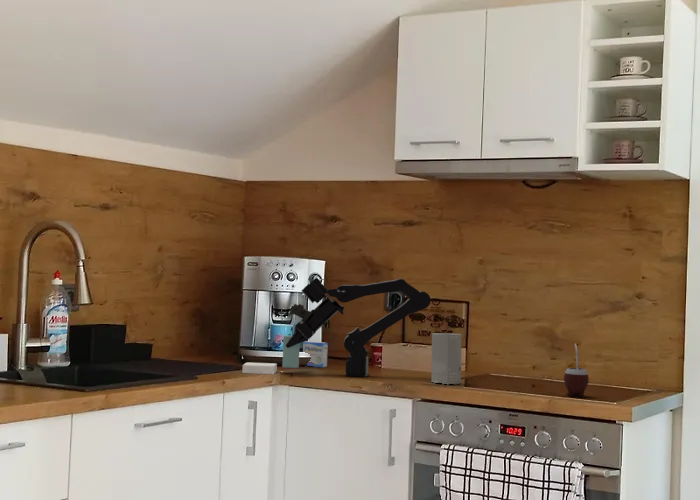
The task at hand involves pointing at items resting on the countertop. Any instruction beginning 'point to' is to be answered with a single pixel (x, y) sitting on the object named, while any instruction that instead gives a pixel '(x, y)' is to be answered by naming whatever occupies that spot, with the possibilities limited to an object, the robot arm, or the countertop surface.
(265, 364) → the grey plinth
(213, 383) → the countertop surface
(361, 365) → the robot arm
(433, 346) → the skincare box
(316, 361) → the medicine box
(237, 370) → the countertop surface
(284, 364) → the teal block
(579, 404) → the countertop surface
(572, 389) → the mate gourd
